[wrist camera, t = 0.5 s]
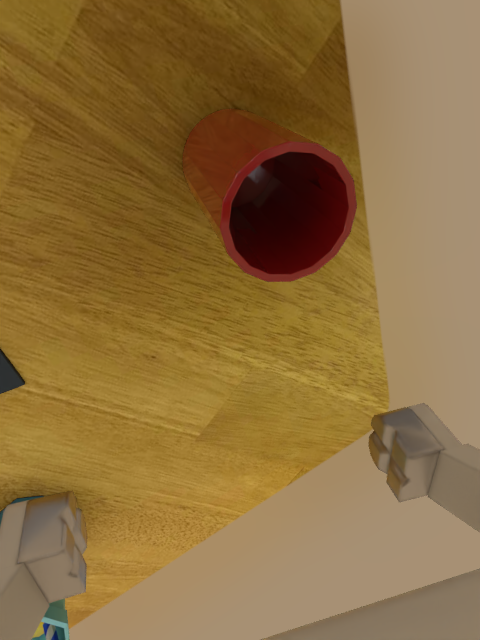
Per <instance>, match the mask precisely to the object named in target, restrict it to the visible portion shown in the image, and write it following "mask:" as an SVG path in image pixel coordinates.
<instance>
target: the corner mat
mask: <svg viewBox="0 0 480 640" xmlns="http://www.w3.org/2000/svg"><path fill="white" fill-rule="evenodd" d="M22 385H25V382H24V380H23V379H22V378H21V376H20V375H19V374H18V372H17V371H16V369H15V368H14V367H13V365H12V364H11V363H10V361H9V360H8V359H7V357H6V356H5V355H4V353H3V352H2V351H1V349H0V394H1V393H4V392H7V391H9V390H12V389H14V388H17V387H20V386H22Z"/></svg>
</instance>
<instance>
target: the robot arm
mask: <svg viewBox="0 0 480 640" xmlns="http://www.w3.org/2000/svg"><path fill="white" fill-rule="evenodd" d="M371 426H372V428H373V429H374V431H373V433H372V434H371V435H370V437H369V449H370V454H371V456H372V459H373V461H374V463H375V465H376V466H377V468H378V469H379V470H381V471H383V472H384V473H386V474H387V484H388V485H389V487H390V488H391V490H392V492H393V493H394V495H395V496H396V498H397V499H398V501H399V502H403V501H407V500H411V499H415V498H419V497H422V496H427V495H428V497H429V498H430V499H432V500H433V501H435V502H436V503H437V504H439V505H440V506H442V507H443V508H445V509H446V510H448V511H449V512H451V513H452V514H454V515H455V516H456V517H458V518H459V519H461V520H462V521H464V522H465V523H467V524H468V525H470V526H471V527H472V528H474V529H475V530H477V531H479V532H480V449H477V448H475V447H473V446H471V445H469V444H464V445H462V444H461V443H460V441H459V440H458V439H457V438H456V437H455V436H454V435H453V434H452V432H451V431H450V430H449V429H448V428H447V427H446V426H445V424H444V423H443V422H442V421H441V420H440V419H439V418H438V417H437V415H436V414H435V413H434V412H433V411H432V410H431V408H429V406H428V405H426V404H424V403H422V404H418V405H415V406H410V407H407V408H401V409H397V410H393V411H389V412H385V413H382V414H378V415H374V417H373V418H372V422H371ZM76 502H77V498H76V496H75V494H74V492H73V491H67V492H63V493H58V494H54V495H49V496H45V497H40V498H36V499H31V500H27V501H23V502H18V503H14V504H10V505H7V507H6V508H5V510H4V512H3V517H2V522H1V526H0V640H31V639H32V637H33V635H34V634H35V632H36V630H37V628H38V626H39V624H40V622H41V621H42V619H43V617H44V615H45V613H46V611H47V609H48V608H49V603H52V602H55V601H58V600H61V599H65V598H68V597H71V596H74V595H77V594H81V593H84V592H86V563H85V560H84V558H83V556H82V554H83V553H84V551H85V550H86V548H87V530H86V522H85V518H84V515H83V512H82V510H81V509H79V508H77V507H76ZM261 640H480V569H477V570H474V571H471V572H468V573H465V574H462V575H459V576H456V577H452V578H450V579H446V580H443V581H440V582H437V583H434V584H431V585H428V586H425V587H422V588H419V589H415V590H412V591H409V592H406V593H403V594H400V595H397V596H394V597H391V598H388V599H385V600H382V601H378V602H376V603H372V604H369V605H366V606H363V607H360V608H357V609H354V610H351V611H348V612H345V613H341V614H338V615H335V616H332V617H329V618H326V619H323V620H320V621H317V622H314V623H311V624H308V625H304V626H301V627H298V628H295V629H292V630H289V631H286V632H283V633H280V634H277V635H273V636H270V637H268V638H264V639H261Z"/></svg>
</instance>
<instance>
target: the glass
mask: <svg viewBox="0 0 480 640" xmlns="http://www.w3.org/2000/svg"><path fill="white" fill-rule="evenodd" d="M182 166H183V173H184V176H185V180H186V182H187V184H188V187H189V190H190V191H191V193H192V195H193V196H194V198H195V200H196V201H197V203H198V205H199V206H200V208H201V210H202V211H203V213H204V215H205V216H206V218H207V220H208V222H209V223H210V225H211V227H212V228H213V230H214V232H215V233H216V235H217V237H218V238H219V240H220V242H221V243H222V245H223V247H224V248H225V250H226V252H227V253H228V255H229V256H230V257H231V258H232V259H233V260H234V262H235V263H236V264H237V265H238V266H239V267H240V268H241V269H242V270H243V271H244V272H245V273H247V274H250V275H252V276H254V277H257V278H259V279H261V280H264V281H267V282H287V281H294V280H297V279H299V278H302V277H304V276H307V275H310V274H312V273H315V272H316V271H318V270H319V269H320V268H321V267H322V266H324V265H325V264H326V263H327V262H329V261H330V260H331V259H332V258H333V257H335V255H336V254H337V253H338V251H339V250H340V248H341V247H342V245H343V244H344V242H345V240H346V239H347V237H348V236H349V234H350V232H351V228H352V224H353V220H354V216H355V212H356V208H357V207H356V206H357V203H356V195H355V187H354V181H353V178H352V176H351V175H350V173H349V171H348V170H347V168H346V166H345V165H344V163H343V161H342V160H341V158H340V157H338V156H337V155H335V154H334V153H332V152H330V151H329V150H327V149H326V148H324V147H322V146H321V145H319V144H317V143H315V142H313V141H311V140H309V139H307V138H305V137H303V136H300V135H298V134H296V133H294V132H292V131H290V130H288V129H286V128H284V127H282V126H279V125H277V124H275V123H273V122H271V121H269V120H267V119H265V118H263V117H260V116H258V115H256V114H254V113H252V112H250V111H245V110H241V109H223V110H219V111H216V112H214V113H211V114H210V115H208V116H206V117H205V118H203V119H202V120H201V121H200V122H199V123H198V124H197V125H196V126H195V127H194V128H193V130H192V131H191V133H190V135H189V136H188V138H187V141H186V143H185V146H184V151H183V158H182Z"/></svg>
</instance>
